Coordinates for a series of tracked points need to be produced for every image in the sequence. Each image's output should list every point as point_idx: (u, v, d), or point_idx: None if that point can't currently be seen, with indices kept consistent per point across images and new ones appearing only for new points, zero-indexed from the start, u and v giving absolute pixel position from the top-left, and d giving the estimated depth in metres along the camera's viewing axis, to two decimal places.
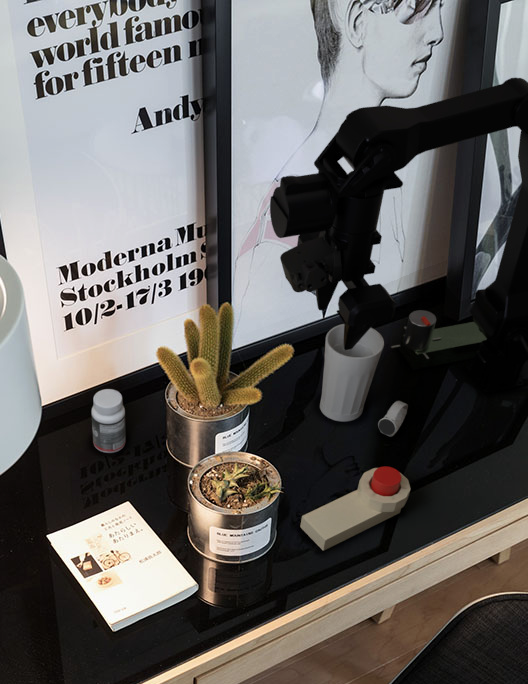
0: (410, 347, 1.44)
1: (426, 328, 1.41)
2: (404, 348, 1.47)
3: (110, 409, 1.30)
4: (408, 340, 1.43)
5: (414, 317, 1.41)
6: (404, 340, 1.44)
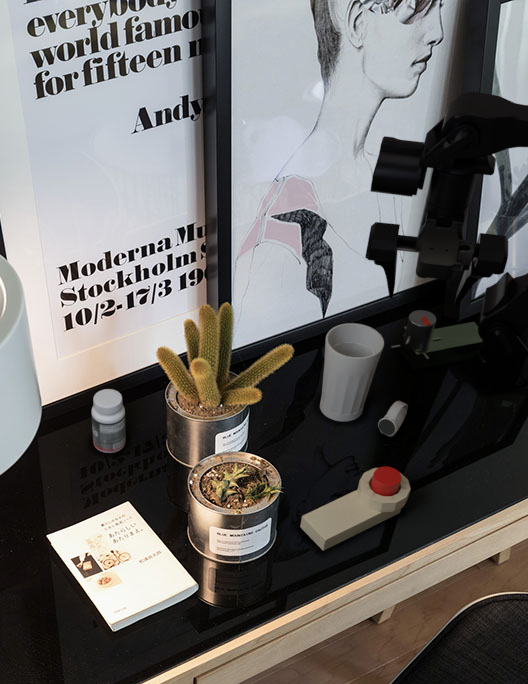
0: (410, 347, 1.44)
1: (426, 328, 1.41)
2: (404, 348, 1.47)
3: (110, 409, 1.30)
4: (408, 340, 1.43)
5: (414, 317, 1.41)
6: (404, 340, 1.44)
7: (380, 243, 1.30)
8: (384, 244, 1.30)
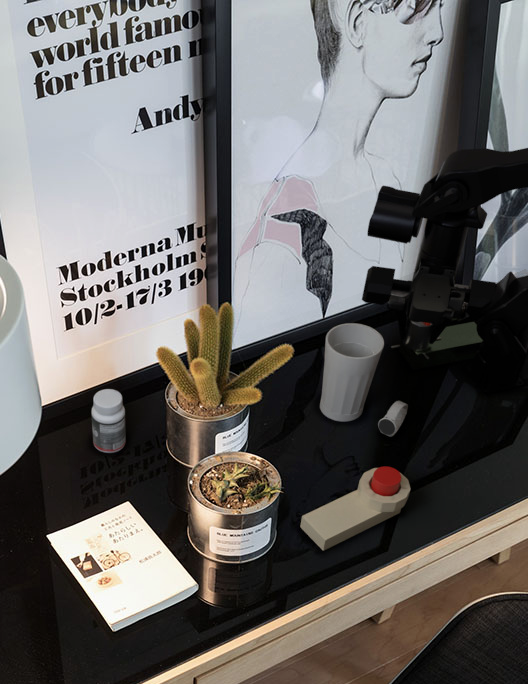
0: (410, 347, 1.44)
1: (426, 328, 1.41)
2: (404, 348, 1.47)
3: (110, 409, 1.30)
4: (408, 340, 1.43)
5: None
6: (404, 340, 1.44)
7: (376, 287, 1.37)
8: (380, 288, 1.37)
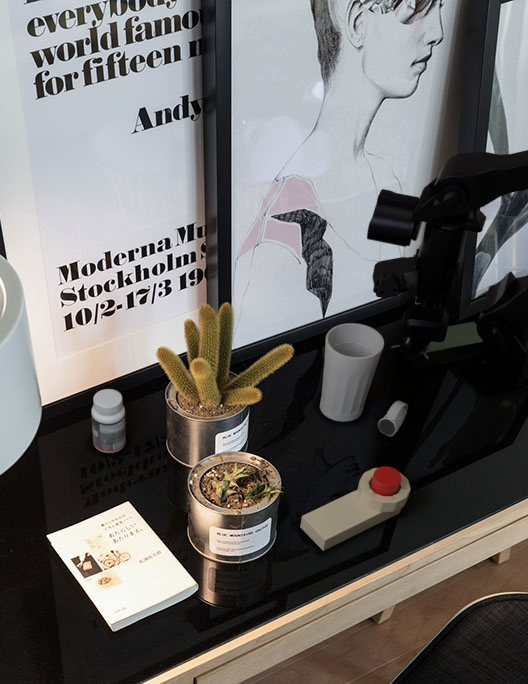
0: None
1: None
2: (404, 348, 1.47)
3: (110, 409, 1.30)
4: None
5: None
6: None
7: None
8: None
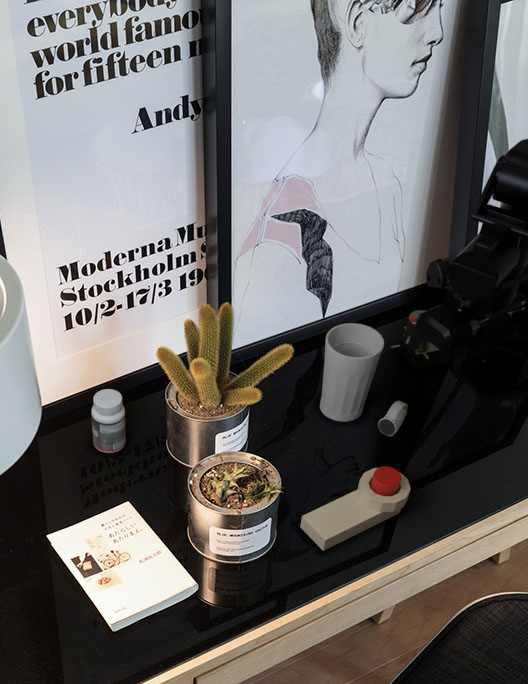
0: None
1: (409, 321, 1.42)
2: (404, 348, 1.47)
3: (110, 409, 1.30)
4: None
5: None
6: None
7: None
8: None
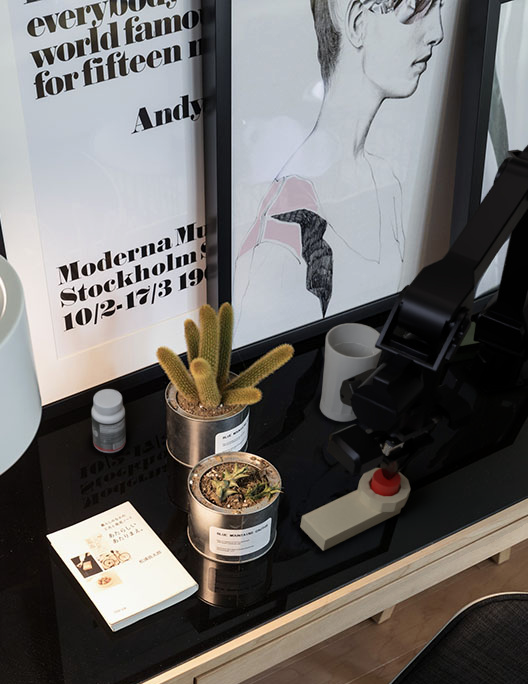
0: None
1: None
2: None
3: (110, 409, 1.30)
4: None
5: None
6: None
7: None
8: None
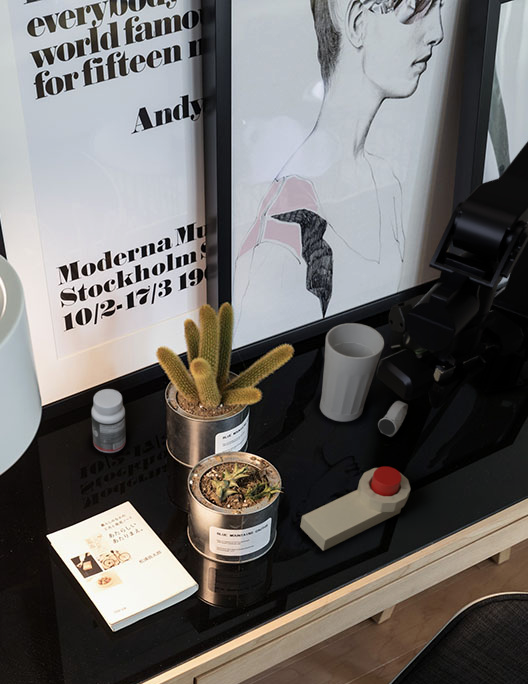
0: None
1: None
2: (404, 348, 1.47)
3: (110, 409, 1.30)
4: None
5: None
6: None
7: None
8: None
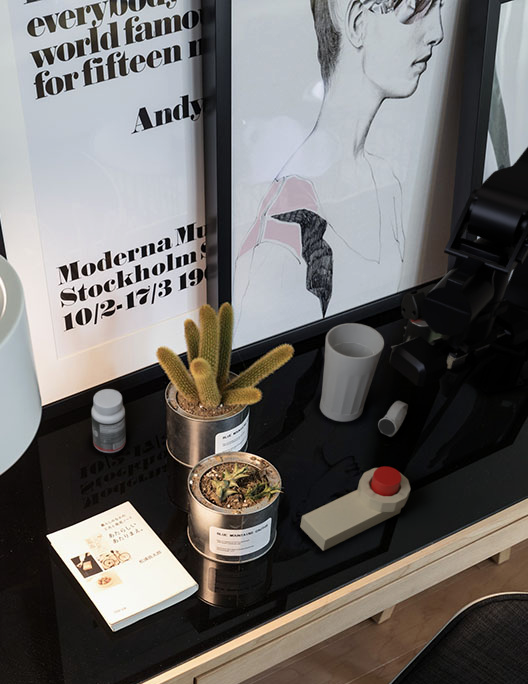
0: None
1: (409, 321, 1.42)
2: None
3: (110, 409, 1.30)
4: None
5: None
6: None
7: None
8: None
